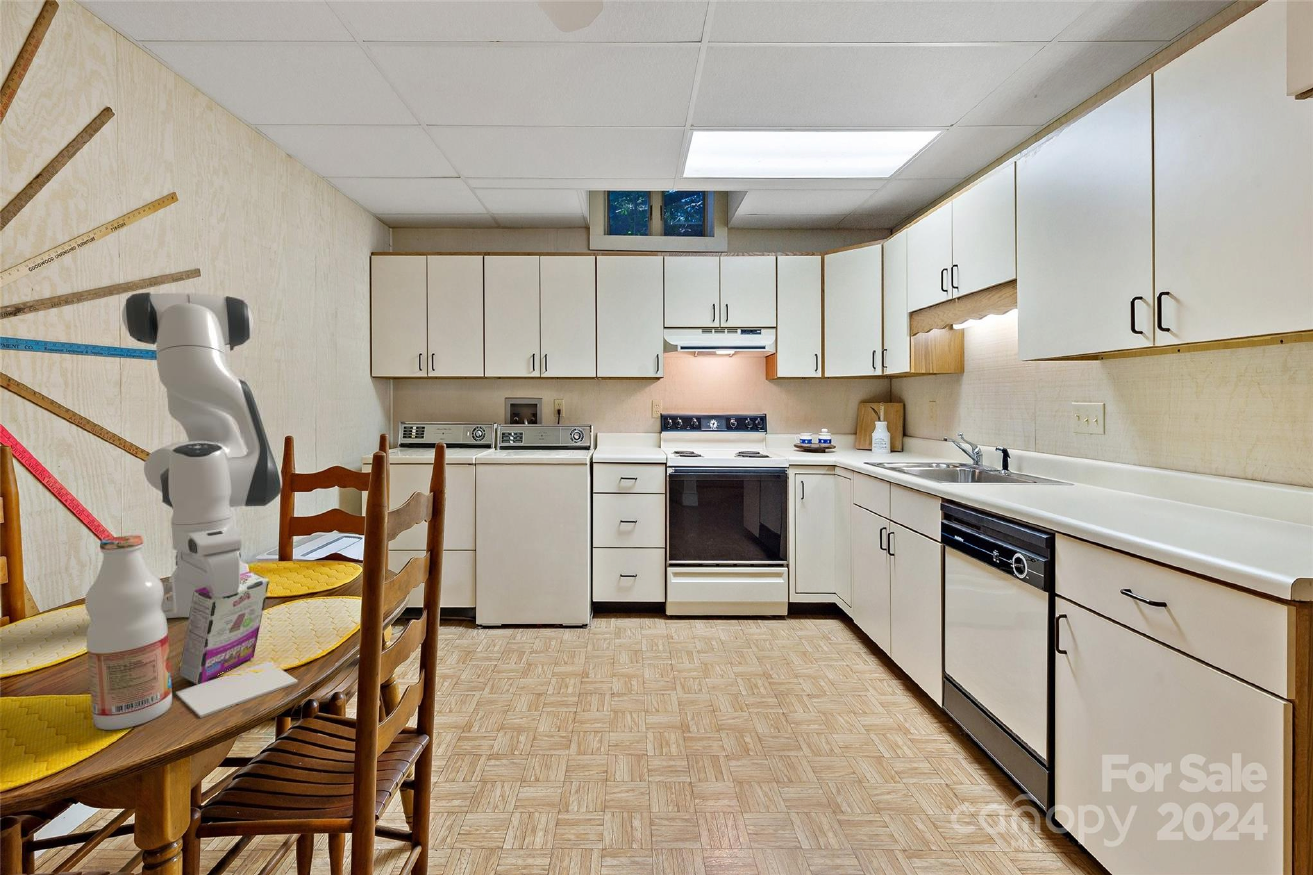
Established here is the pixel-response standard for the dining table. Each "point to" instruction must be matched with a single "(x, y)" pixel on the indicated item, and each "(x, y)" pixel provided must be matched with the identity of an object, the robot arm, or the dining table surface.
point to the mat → (235, 689)
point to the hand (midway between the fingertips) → (209, 610)
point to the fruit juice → (127, 639)
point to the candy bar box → (222, 629)
